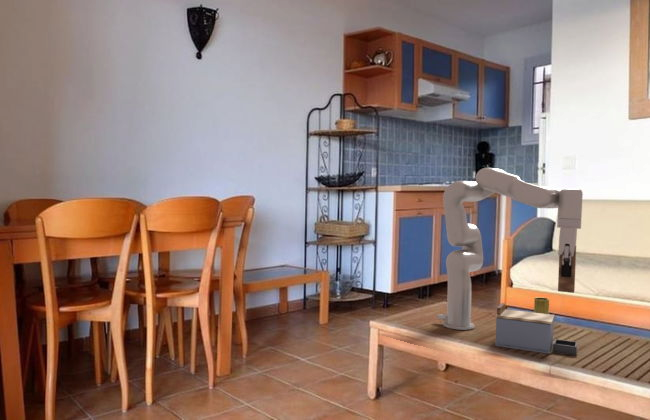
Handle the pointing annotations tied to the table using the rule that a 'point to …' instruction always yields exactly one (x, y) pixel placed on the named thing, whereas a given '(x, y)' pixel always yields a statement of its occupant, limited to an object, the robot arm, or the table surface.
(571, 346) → the socket
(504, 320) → the toolbox
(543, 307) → the vase
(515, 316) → the lid
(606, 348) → the table surface
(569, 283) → the brown wooden block
